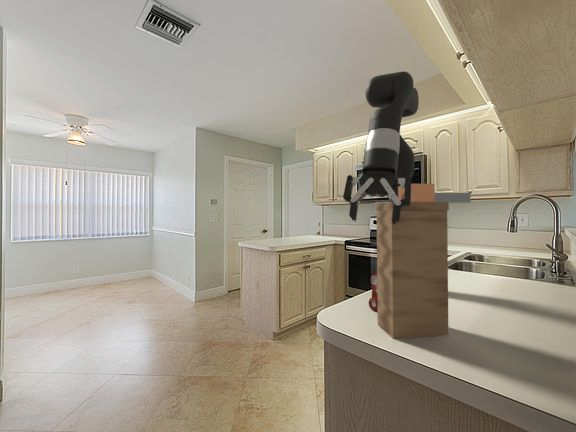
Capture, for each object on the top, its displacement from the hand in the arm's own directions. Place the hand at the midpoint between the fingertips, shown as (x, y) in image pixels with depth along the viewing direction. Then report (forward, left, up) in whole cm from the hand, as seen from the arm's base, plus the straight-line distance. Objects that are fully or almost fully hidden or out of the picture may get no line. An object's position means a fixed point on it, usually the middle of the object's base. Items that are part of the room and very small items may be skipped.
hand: (373, 221), depth 58 cm
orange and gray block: (-7, +20, +5) cm, 22 cm away
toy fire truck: (-19, +13, -28) cm, 36 cm away
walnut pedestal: (-7, +13, -27) cm, 31 cm away
